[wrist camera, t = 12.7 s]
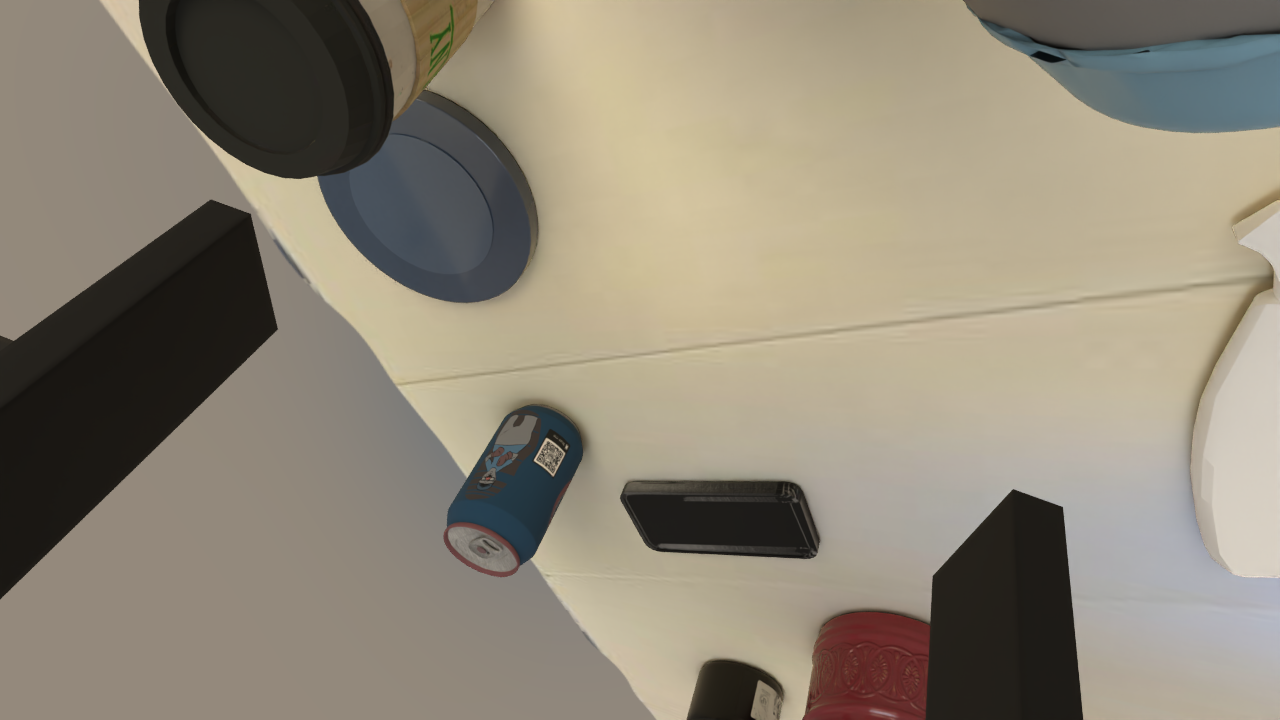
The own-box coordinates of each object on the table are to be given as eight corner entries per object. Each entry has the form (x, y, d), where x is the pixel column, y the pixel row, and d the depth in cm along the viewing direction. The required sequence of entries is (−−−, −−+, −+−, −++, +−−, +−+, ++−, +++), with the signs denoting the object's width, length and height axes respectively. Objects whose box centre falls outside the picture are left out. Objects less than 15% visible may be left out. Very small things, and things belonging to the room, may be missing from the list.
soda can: (555, 468, 65) (492, 590, 56) (493, 417, 63) (418, 535, 54) (605, 442, 60) (545, 570, 52) (540, 385, 58) (466, 509, 50)
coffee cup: (382, 45, 43) (190, 175, 32) (332, -165, 36) (70, -87, 26) (544, 65, 41) (393, 212, 30) (523, -155, 34) (320, -65, 23)
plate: (306, 55, 45) (292, 63, 44) (542, 123, 43) (532, 133, 42) (344, 257, 56) (334, 267, 55) (535, 318, 54) (527, 330, 53)
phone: (820, 559, 59) (648, 551, 66) (822, 547, 60) (652, 540, 67) (796, 492, 55) (615, 491, 62) (798, 480, 56) (619, 480, 63)
